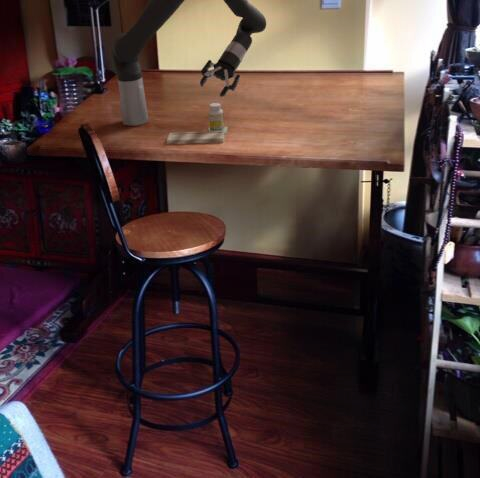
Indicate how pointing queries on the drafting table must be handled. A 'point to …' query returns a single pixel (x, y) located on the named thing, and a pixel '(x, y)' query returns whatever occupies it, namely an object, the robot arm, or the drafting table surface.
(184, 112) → the drafting table surface
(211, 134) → the birch board
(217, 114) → the supplement bottle
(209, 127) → the end pad
